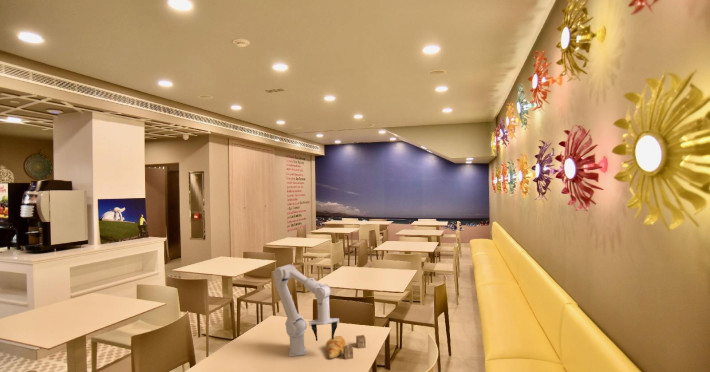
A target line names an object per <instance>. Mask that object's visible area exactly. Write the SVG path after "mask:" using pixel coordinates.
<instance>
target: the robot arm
mask: <svg viewBox="0 0 710 372" xmlns="http://www.w3.org/2000/svg"><path fill="white" fill-rule="evenodd" d="M272 277H273V279H274V285H275V288H276V290H277V293H278V296H279V298H280V301H281V305H282V308H283V309H284V312H285V315H286V321H285V329H286V334H287V335H288V337H289V348H288V350H289V357H294V356H295V357H297V356H303V355H306V354H307V352H306V346H305V332H306V330H307V328H308V327H311V331H312V332H313V334H314V337H315V341H316V342H317V341H318V327H317V326H319V325H320V326H322V325H323V326H325V325H331V338H332V339H334V337H335V332H336V330H337V327H338V324H340V318H339V317H338V318H337V317H333V318H332V317H331V316H330V315H331V314H330V312H331V311H330V296H331V295H332V288H331V286H329V285H328V284H327V283H326V284H323V283H321V282H319V281H317V280H316V278H314V277H309V278H308V277H307V276H305V274H303V273H301V271H299V270H298V269H296V266H294V265H293V264H290V263H288V264H286V265H282V266H279V267H278V266H277V267H275V268H274V270H273V273H272ZM290 279H294V280H295V281H297V282H299V283H300V284H302V285H303V286H304V288H305V289H307V290H308V291H309V292H310V293H312V294H314V296H315V299H316V302H317V319H313V320H308V325H307V322H306V320H305V319H304V318H303V315H301V314H299V313H298V310H297V308H296V306H295V303H294V299H293V298H292V295H291V292H290V290H289V287H288V283H289V280H290ZM307 326H308V327H307Z"/></svg>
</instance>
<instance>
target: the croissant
mask: <svg viewBox="0 0 710 372" xmlns="http://www.w3.org/2000/svg"><path fill="white" fill-rule="evenodd" d="M345 345H347V344H346V340H345V339H344V338H343V337H342V336H341V335H338V336H334V339H332V337H331V338H329V339H328V340H327V342H326V343H325V348H326V351H327V354H328V357H329V359H334V358H337V357H339V356H340V355H342V354H344V352H343V346H345Z"/></svg>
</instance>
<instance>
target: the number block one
mask: <svg viewBox="0 0 710 372" xmlns="http://www.w3.org/2000/svg"><path fill="white" fill-rule="evenodd" d="M353 349H354V348H353V346H352V344H346V345H345V346H343V352H344V353H343V358H344V360H345V361H346V360H351V359H354V350H353Z"/></svg>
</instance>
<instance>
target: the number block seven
mask: <svg viewBox="0 0 710 372" xmlns="http://www.w3.org/2000/svg"><path fill="white" fill-rule="evenodd" d="M355 338H356V340H355V341H356V342H355V344H356V347H357V349H365V348H366V336H365V334H359V335H356V336H355Z"/></svg>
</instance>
